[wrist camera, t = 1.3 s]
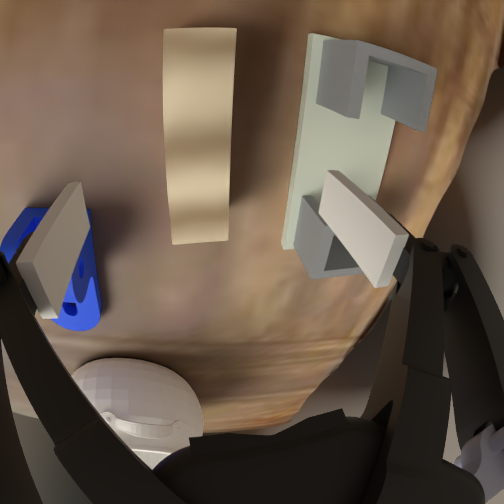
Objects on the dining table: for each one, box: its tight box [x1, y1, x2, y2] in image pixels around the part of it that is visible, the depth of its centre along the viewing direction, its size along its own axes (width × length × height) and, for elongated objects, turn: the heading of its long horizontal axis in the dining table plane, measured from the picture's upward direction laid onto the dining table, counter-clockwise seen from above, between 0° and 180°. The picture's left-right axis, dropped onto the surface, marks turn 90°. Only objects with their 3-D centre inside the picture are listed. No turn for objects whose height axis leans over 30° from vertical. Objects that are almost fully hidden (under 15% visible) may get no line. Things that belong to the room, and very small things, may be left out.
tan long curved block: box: [163, 28, 237, 245], centre depth 23 cm, size 18×5×6 cm, turn 177°
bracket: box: [0, 208, 102, 331], centre depth 28 cm, size 18×8×9 cm, turn 168°
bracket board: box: [281, 33, 437, 280], centre depth 27 cm, size 24×11×7 cm, turn 176°
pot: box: [71, 358, 203, 470], centre depth 43 cm, size 29×26×16 cm
